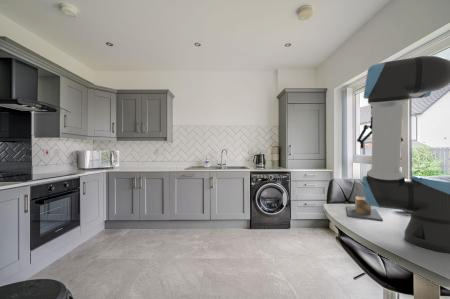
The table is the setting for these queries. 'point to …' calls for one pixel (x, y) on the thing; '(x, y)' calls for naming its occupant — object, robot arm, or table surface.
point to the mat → (373, 216)
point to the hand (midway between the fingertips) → (378, 154)
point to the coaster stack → (362, 206)
